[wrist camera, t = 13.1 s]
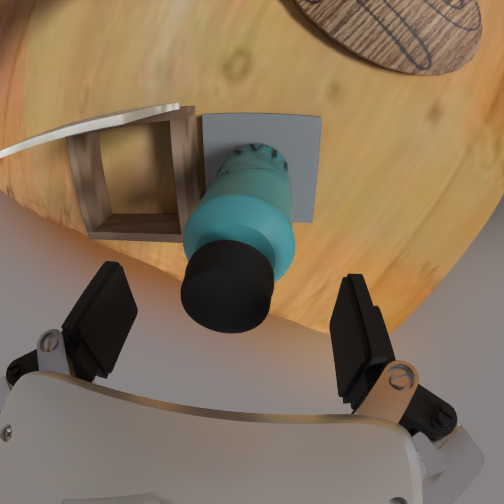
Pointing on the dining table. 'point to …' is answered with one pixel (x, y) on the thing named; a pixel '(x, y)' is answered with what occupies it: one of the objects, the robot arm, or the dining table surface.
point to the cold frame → (93, 181)
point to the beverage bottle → (239, 241)
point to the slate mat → (273, 134)
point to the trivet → (401, 31)
